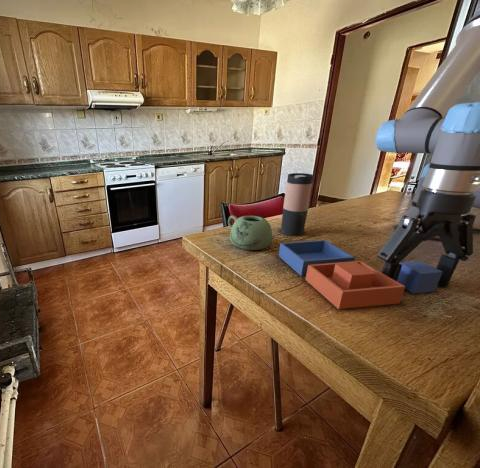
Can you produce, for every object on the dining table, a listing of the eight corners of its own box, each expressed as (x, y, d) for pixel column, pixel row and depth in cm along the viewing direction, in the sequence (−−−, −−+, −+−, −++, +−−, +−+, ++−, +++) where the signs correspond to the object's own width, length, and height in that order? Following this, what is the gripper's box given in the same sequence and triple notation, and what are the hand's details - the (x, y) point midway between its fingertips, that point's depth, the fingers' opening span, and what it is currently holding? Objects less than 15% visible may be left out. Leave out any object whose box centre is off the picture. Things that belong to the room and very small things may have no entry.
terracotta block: (351, 281, 59) (356, 262, 57) (368, 294, 55) (375, 273, 53) (330, 283, 59) (335, 263, 57) (346, 295, 54) (352, 275, 52)
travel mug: (299, 228, 94) (308, 172, 86) (307, 236, 86) (318, 176, 79) (277, 228, 94) (284, 173, 87) (283, 236, 87) (292, 176, 80)
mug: (280, 245, 81) (283, 218, 77) (253, 256, 74) (256, 228, 71) (239, 231, 93) (241, 208, 90) (214, 240, 86) (215, 215, 83)
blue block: (412, 279, 60) (418, 260, 58) (434, 291, 55) (442, 271, 54) (392, 281, 60) (398, 262, 58) (413, 293, 55) (421, 273, 53)
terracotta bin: (356, 275, 63) (360, 260, 61) (399, 303, 52) (405, 286, 51) (305, 279, 62) (308, 264, 60) (338, 309, 51) (342, 292, 50)
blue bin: (321, 252, 75) (324, 239, 73) (351, 271, 64) (354, 257, 63) (278, 256, 74) (280, 243, 72) (301, 276, 63) (303, 261, 62)
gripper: (408, 198, 45) (376, 300, 53) (531, 191, 47) (482, 290, 55) (373, 190, 52) (349, 281, 60) (480, 184, 54) (444, 273, 62)
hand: (413, 285), depth 58 cm, fingers open, 12 cm apart
